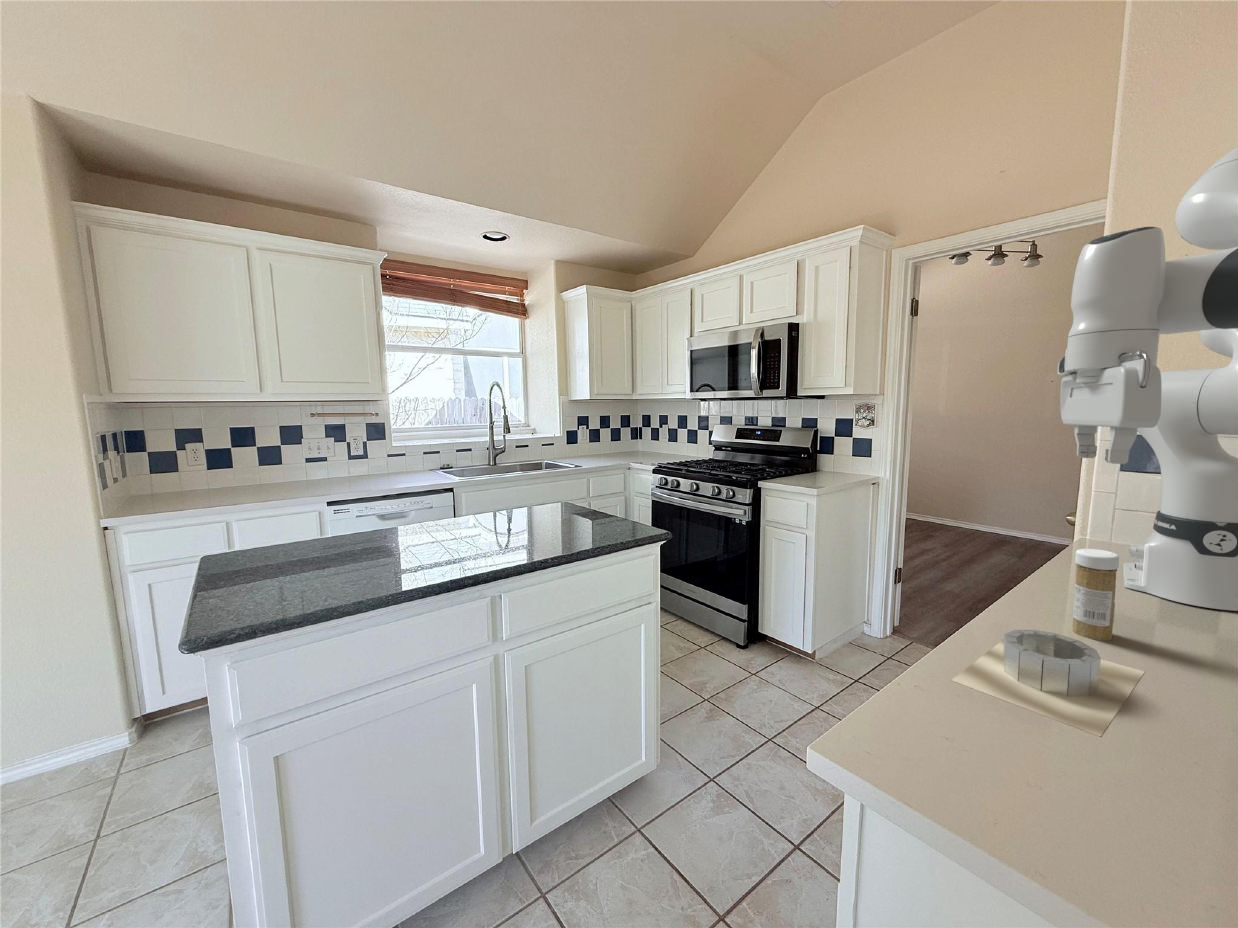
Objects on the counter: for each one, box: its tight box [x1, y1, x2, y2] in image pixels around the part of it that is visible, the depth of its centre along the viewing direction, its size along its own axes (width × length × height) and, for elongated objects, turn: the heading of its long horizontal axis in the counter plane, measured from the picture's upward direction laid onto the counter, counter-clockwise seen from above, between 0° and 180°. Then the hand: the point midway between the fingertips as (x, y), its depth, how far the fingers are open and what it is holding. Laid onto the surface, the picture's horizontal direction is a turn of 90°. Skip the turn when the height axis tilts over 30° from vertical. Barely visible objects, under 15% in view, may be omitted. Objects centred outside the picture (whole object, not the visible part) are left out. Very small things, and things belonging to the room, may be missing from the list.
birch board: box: [950, 638, 1145, 738], centre depth 65 cm, size 20×14×1 cm
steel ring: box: [1003, 629, 1102, 697], centre depth 64 cm, size 9×9×4 cm
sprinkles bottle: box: [1072, 548, 1120, 641], centre depth 74 cm, size 5×5×14 cm
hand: (1100, 460), depth 70 cm, fingers open, 8 cm apart
